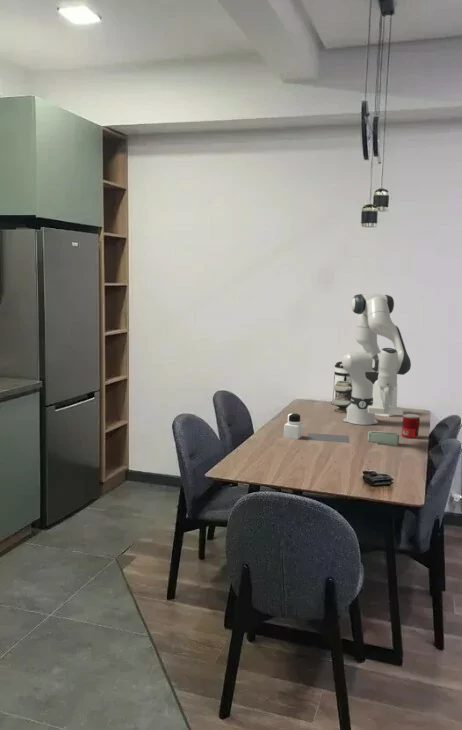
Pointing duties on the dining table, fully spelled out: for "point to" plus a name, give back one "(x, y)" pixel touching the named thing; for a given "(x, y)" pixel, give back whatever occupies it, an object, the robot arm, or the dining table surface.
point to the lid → (381, 410)
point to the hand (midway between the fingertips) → (385, 411)
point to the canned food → (410, 425)
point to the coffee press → (340, 376)
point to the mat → (328, 437)
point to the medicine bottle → (293, 427)
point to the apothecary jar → (342, 396)
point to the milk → (378, 401)
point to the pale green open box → (383, 437)
